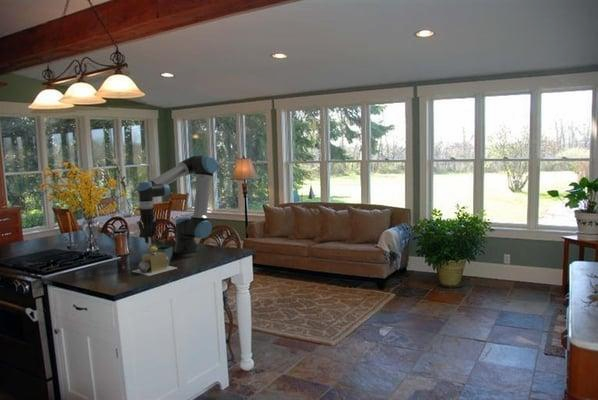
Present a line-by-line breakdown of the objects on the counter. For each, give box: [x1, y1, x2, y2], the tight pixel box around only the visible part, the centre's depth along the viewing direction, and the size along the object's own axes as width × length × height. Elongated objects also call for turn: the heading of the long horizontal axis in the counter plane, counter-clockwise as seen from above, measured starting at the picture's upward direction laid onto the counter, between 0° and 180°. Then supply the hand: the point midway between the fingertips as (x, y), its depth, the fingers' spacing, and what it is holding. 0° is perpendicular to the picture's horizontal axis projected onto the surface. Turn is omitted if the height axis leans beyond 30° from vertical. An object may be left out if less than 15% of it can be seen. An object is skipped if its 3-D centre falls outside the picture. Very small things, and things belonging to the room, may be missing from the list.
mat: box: [131, 265, 178, 277], centre depth 273 cm, size 18×19×1 cm
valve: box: [137, 251, 171, 273], centre depth 272 cm, size 9×18×11 cm, turn 140°
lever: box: [148, 243, 158, 253], centre depth 276 cm, size 14×4×1 cm, turn 16°
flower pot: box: [156, 245, 174, 260], centre depth 292 cm, size 9×9×9 cm
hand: (149, 248), depth 280 cm, fingers closed
